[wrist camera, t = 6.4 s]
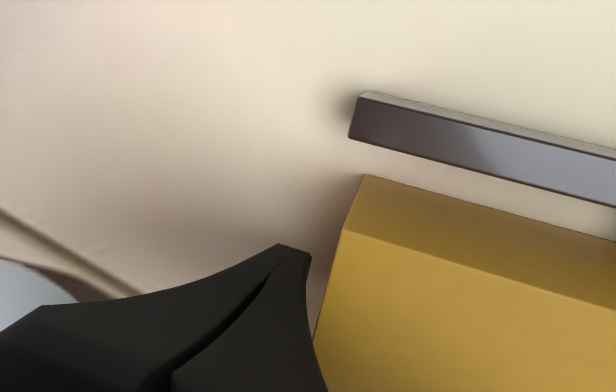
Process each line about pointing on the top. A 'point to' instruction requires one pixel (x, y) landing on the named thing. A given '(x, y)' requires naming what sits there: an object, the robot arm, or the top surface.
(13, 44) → the top surface
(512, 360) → the block
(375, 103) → the bay
